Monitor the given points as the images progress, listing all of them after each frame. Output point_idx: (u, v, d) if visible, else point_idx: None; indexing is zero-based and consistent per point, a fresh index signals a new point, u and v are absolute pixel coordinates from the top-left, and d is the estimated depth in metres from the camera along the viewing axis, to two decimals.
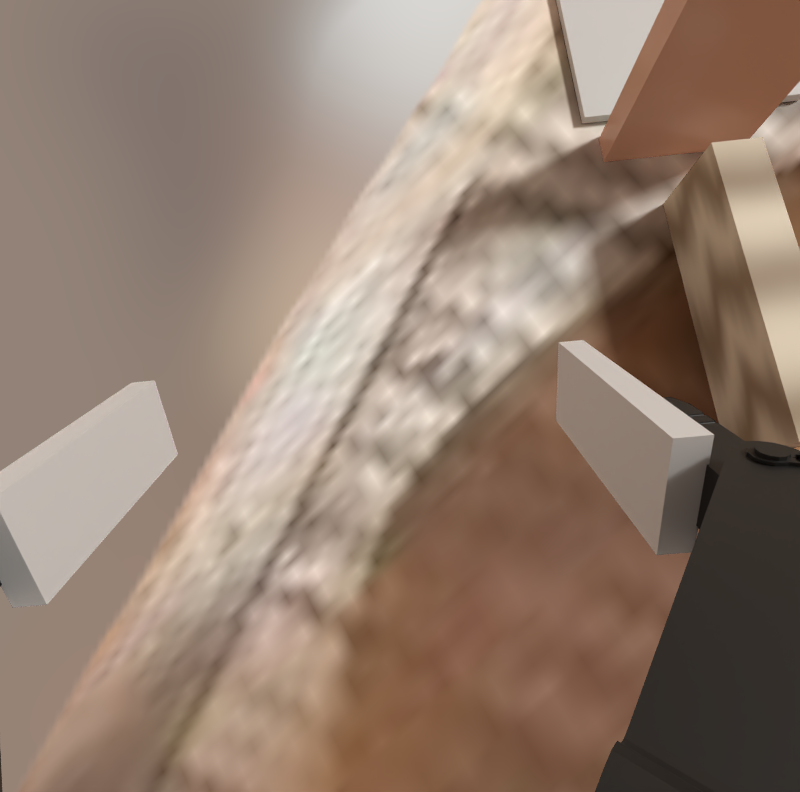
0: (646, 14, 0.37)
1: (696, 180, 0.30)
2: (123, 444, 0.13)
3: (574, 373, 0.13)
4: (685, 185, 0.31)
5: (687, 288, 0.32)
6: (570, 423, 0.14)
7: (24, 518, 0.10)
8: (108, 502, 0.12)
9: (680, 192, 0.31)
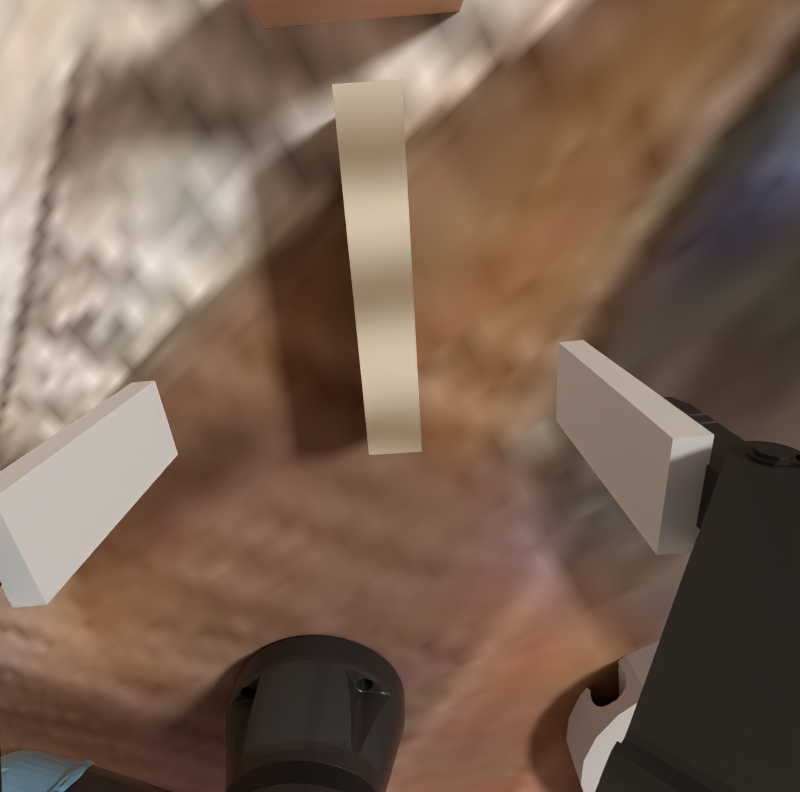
0: None
1: None
2: (123, 444, 0.13)
3: (574, 373, 0.13)
4: None
5: None
6: (570, 423, 0.14)
7: (24, 518, 0.10)
8: (108, 502, 0.12)
9: None
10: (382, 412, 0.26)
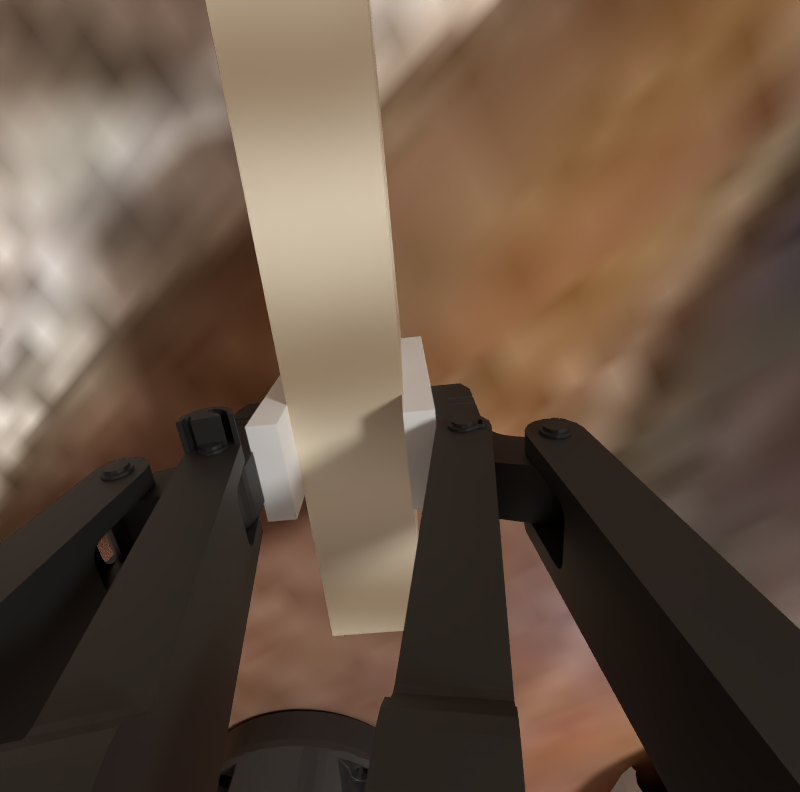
0: None
1: None
2: None
3: None
4: None
5: None
6: None
7: (286, 445, 0.12)
8: None
9: None
10: (351, 571, 0.14)
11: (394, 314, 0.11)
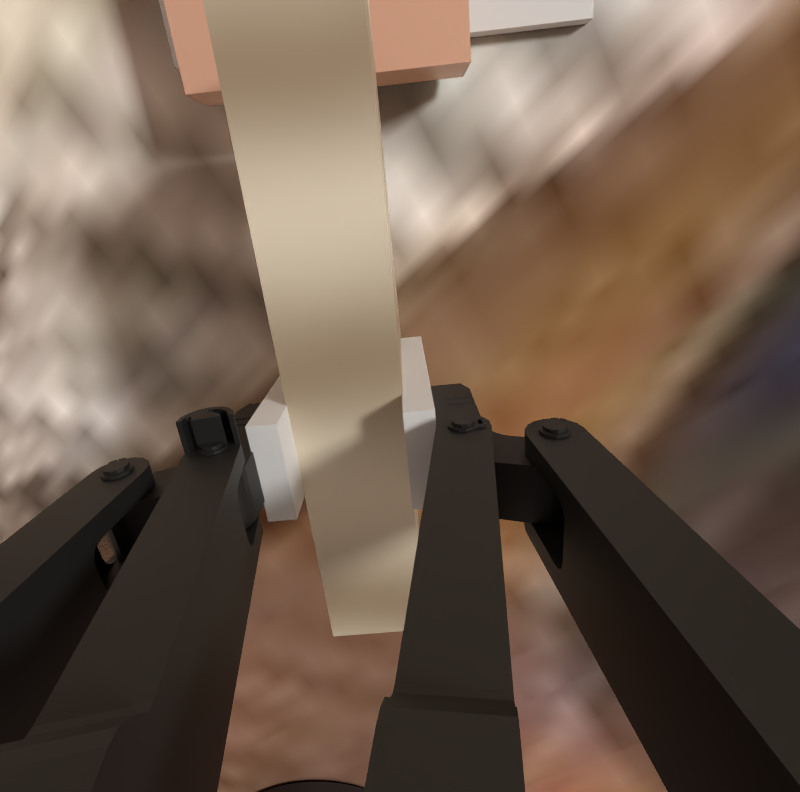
0: None
1: None
2: None
3: None
4: None
5: None
6: None
7: (286, 445, 0.12)
8: None
9: None
10: (352, 572, 0.14)
11: (393, 313, 0.11)
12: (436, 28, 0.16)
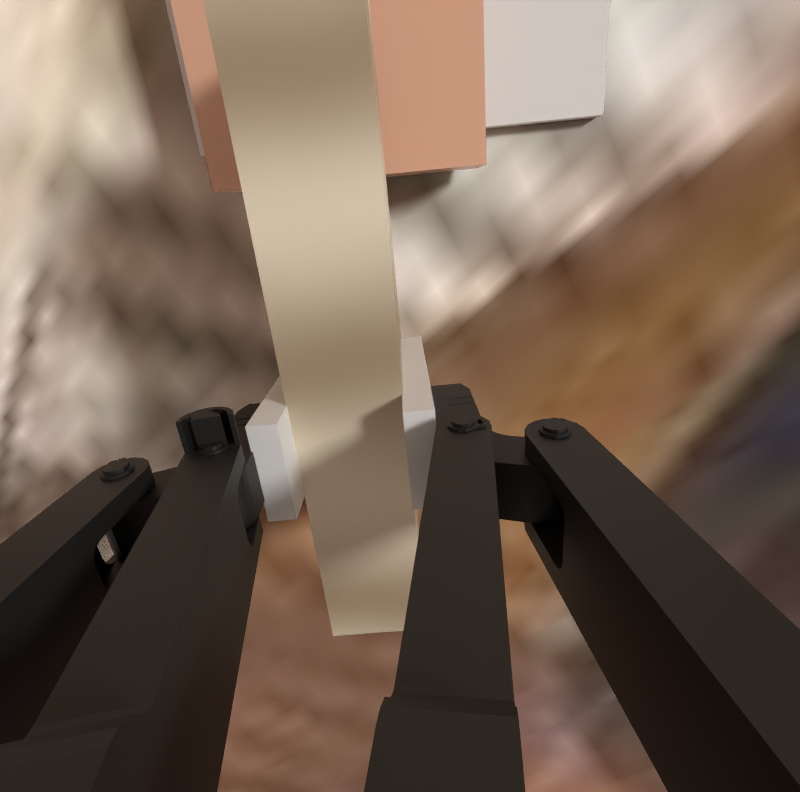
0: None
1: None
2: None
3: None
4: None
5: None
6: None
7: (286, 445, 0.12)
8: None
9: None
10: (351, 571, 0.14)
11: (393, 312, 0.11)
12: (454, 134, 0.17)
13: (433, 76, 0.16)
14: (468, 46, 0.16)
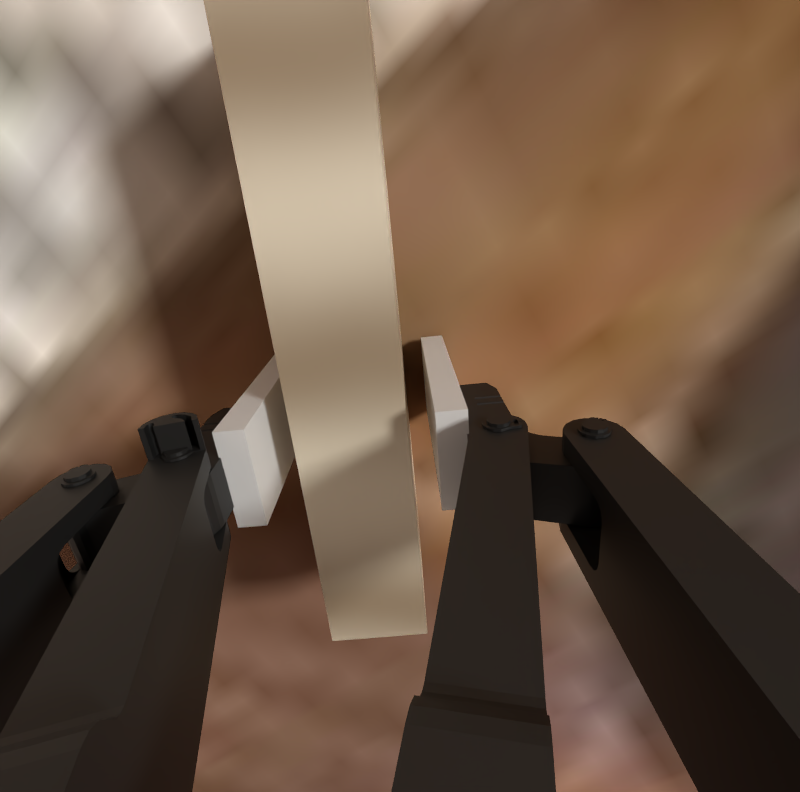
0: None
1: None
2: None
3: (424, 364, 0.16)
4: None
5: None
6: (427, 408, 0.16)
7: (255, 450, 0.11)
8: (285, 449, 0.14)
9: None
10: (351, 574, 0.14)
11: (394, 308, 0.11)
12: None
13: None
14: None
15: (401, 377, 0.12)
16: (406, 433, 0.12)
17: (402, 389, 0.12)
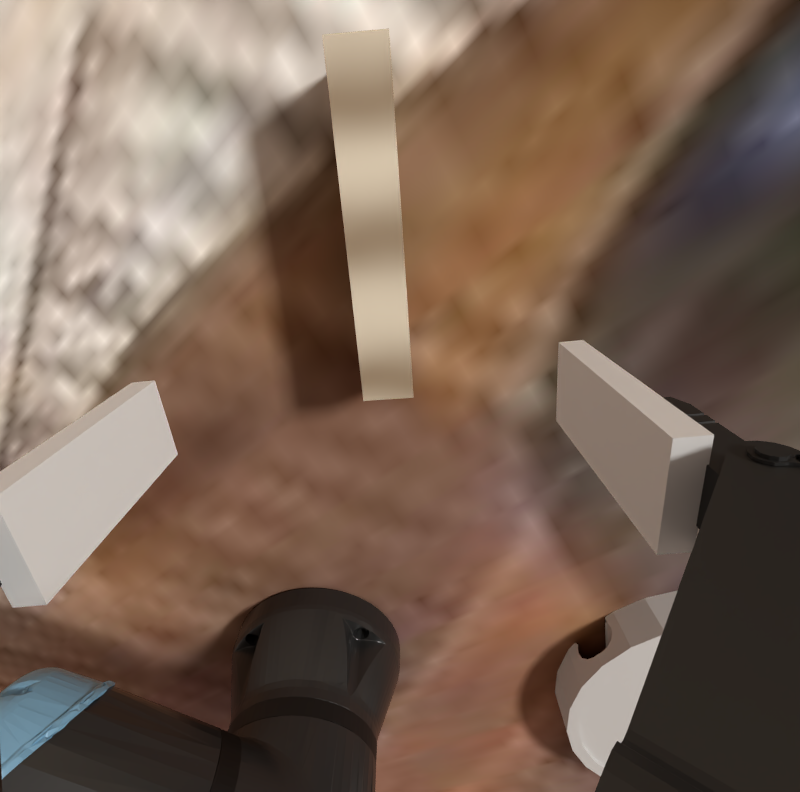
0: None
1: None
2: (123, 444, 0.13)
3: (574, 373, 0.13)
4: None
5: None
6: (570, 423, 0.14)
7: (24, 518, 0.10)
8: (108, 502, 0.12)
9: None
10: (375, 358, 0.27)
11: (400, 213, 0.24)
12: None
13: None
14: None
15: (402, 248, 0.25)
16: (404, 278, 0.25)
17: (403, 254, 0.25)
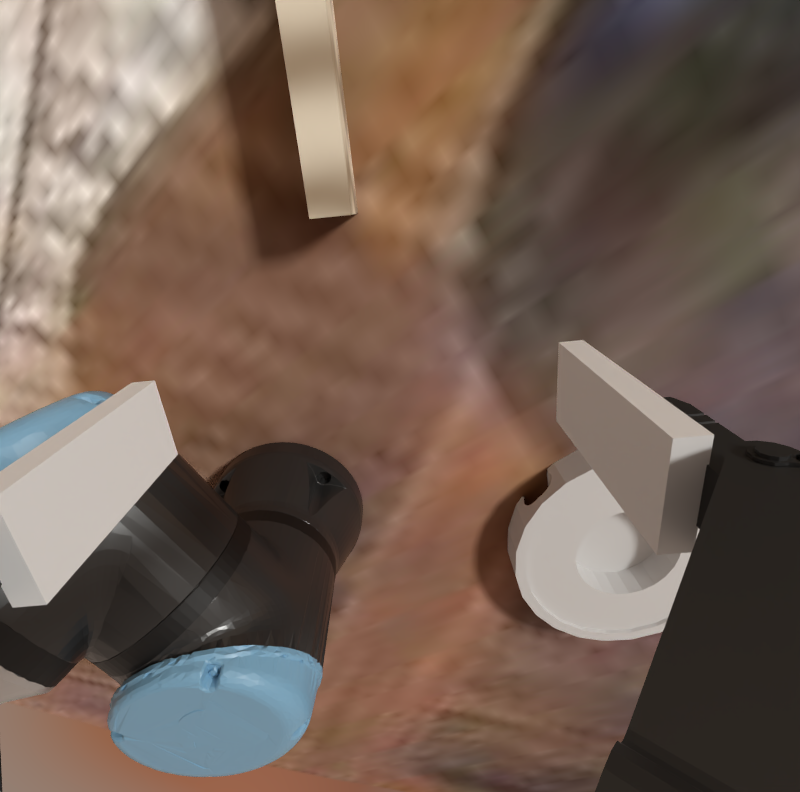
0: None
1: None
2: (123, 444, 0.13)
3: (574, 373, 0.13)
4: None
5: None
6: (570, 423, 0.14)
7: (24, 518, 0.10)
8: (108, 502, 0.12)
9: None
10: (316, 177, 0.32)
11: (329, 37, 0.29)
12: None
13: None
14: None
15: (333, 69, 0.30)
16: (336, 98, 0.30)
17: (334, 75, 0.30)
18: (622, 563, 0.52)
